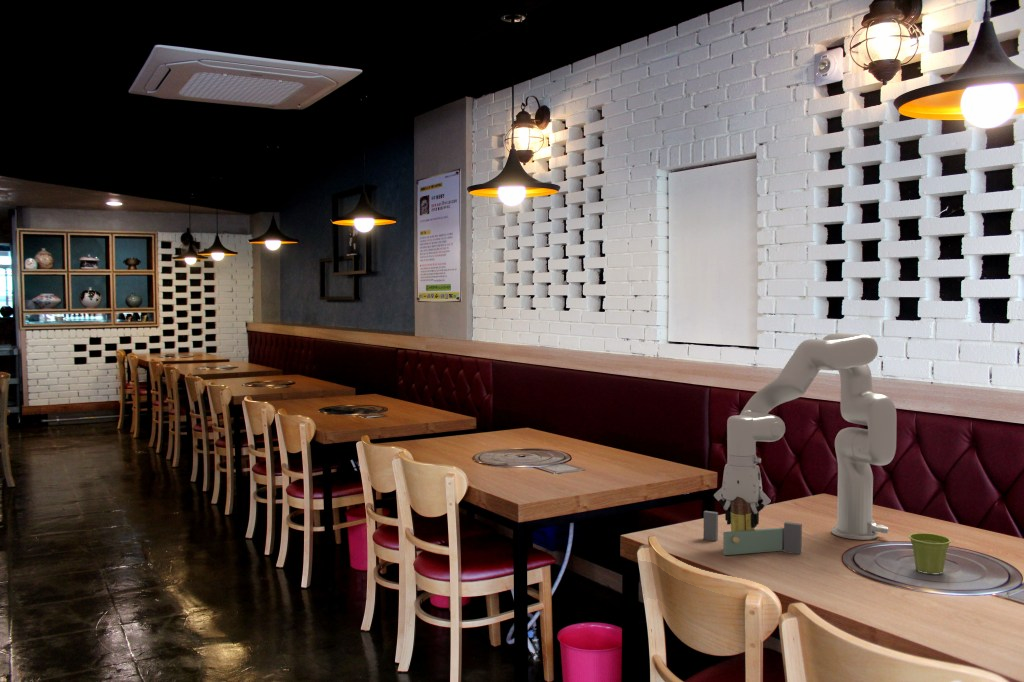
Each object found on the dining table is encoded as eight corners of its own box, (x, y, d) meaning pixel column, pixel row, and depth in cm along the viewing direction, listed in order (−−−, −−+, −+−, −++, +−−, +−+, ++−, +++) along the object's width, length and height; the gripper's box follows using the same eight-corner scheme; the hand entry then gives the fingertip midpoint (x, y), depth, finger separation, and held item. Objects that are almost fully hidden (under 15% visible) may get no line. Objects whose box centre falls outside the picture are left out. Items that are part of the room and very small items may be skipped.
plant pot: (934, 580, 198) (935, 545, 197) (900, 569, 206) (901, 535, 206) (958, 574, 202) (959, 540, 202) (924, 563, 210) (924, 531, 210)
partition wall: (801, 553, 219) (801, 523, 219) (800, 554, 218) (800, 525, 218) (705, 537, 234) (705, 510, 234) (703, 539, 233) (703, 511, 232)
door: (782, 548, 222) (782, 527, 222) (788, 551, 220) (788, 529, 219) (723, 553, 218) (723, 532, 217) (728, 556, 215) (728, 534, 215)
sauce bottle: (752, 544, 226) (752, 474, 224) (757, 551, 219) (756, 480, 218) (728, 544, 226) (728, 474, 225) (732, 551, 220) (732, 480, 218)
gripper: (777, 461, 220) (777, 526, 221) (715, 455, 229) (715, 518, 230) (769, 466, 214) (769, 532, 214) (706, 460, 223) (707, 524, 224)
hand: (741, 524), depth 222 cm, fingers closed on sauce bottle, 6 cm apart
